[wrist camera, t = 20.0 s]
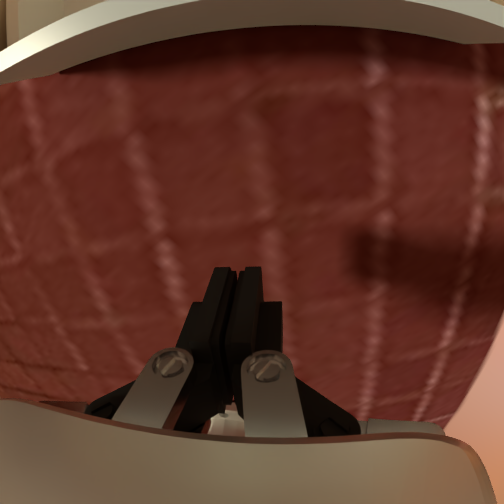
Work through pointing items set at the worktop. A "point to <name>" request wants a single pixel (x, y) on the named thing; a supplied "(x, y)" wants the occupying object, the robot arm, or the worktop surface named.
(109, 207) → the worktop surface
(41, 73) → the tray
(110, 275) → the worktop surface
